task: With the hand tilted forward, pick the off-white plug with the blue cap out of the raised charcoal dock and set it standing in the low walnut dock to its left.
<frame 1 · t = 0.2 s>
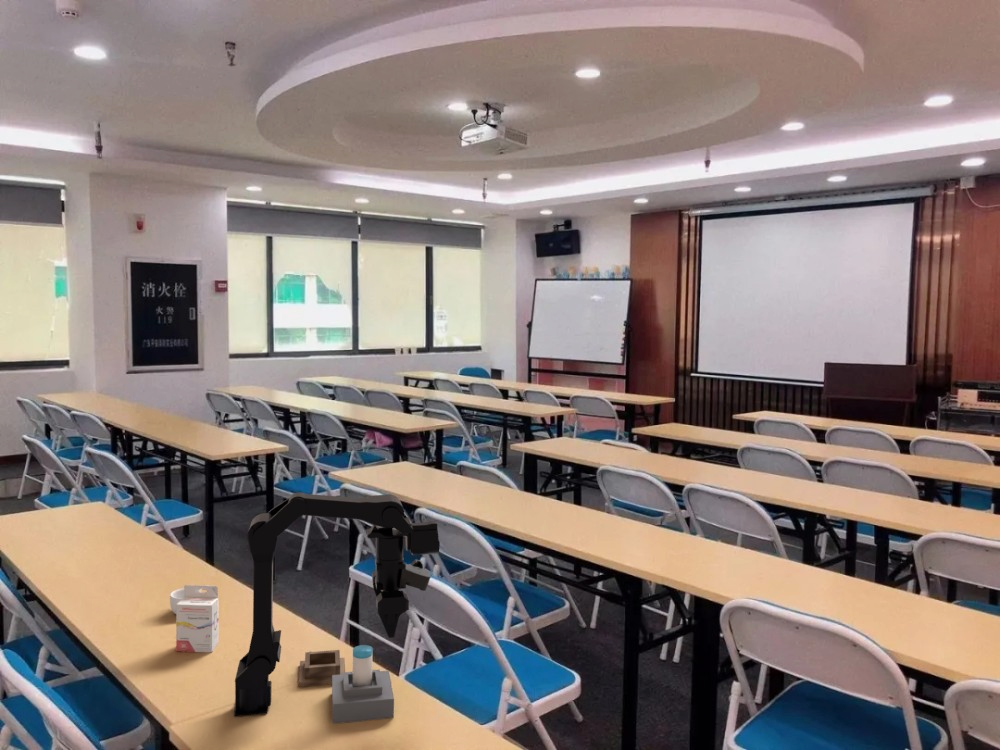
hand: (389, 628, 157), 15 cm above the table, tool pointing down, fingers open, 9 cm apart
upper dock: (361, 705, 154), on the table
teacup: (183, 612, 198), on the table
plug: (362, 686, 154), point 4 cm above the table, touching upper dock
low dock: (322, 673, 167), on the table
ink cartridge box: (197, 648, 178), on the table
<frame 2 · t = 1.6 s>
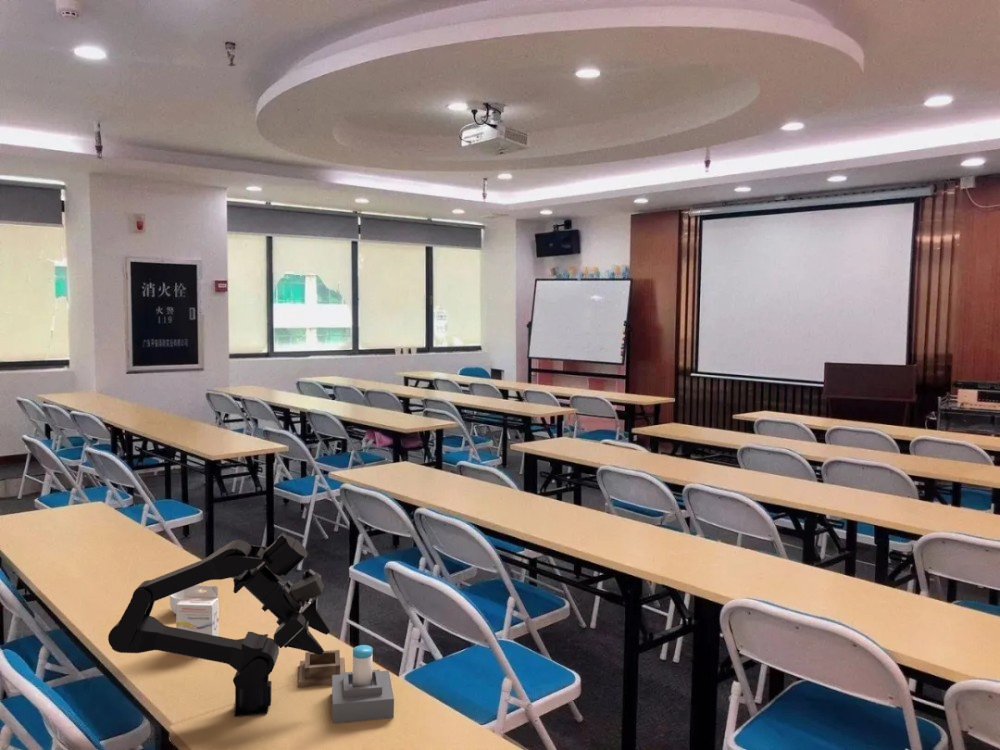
hand: (325, 642, 152), 14 cm above the table, tool tilted 45°, fingers open, 9 cm apart
nothing on the table moved.
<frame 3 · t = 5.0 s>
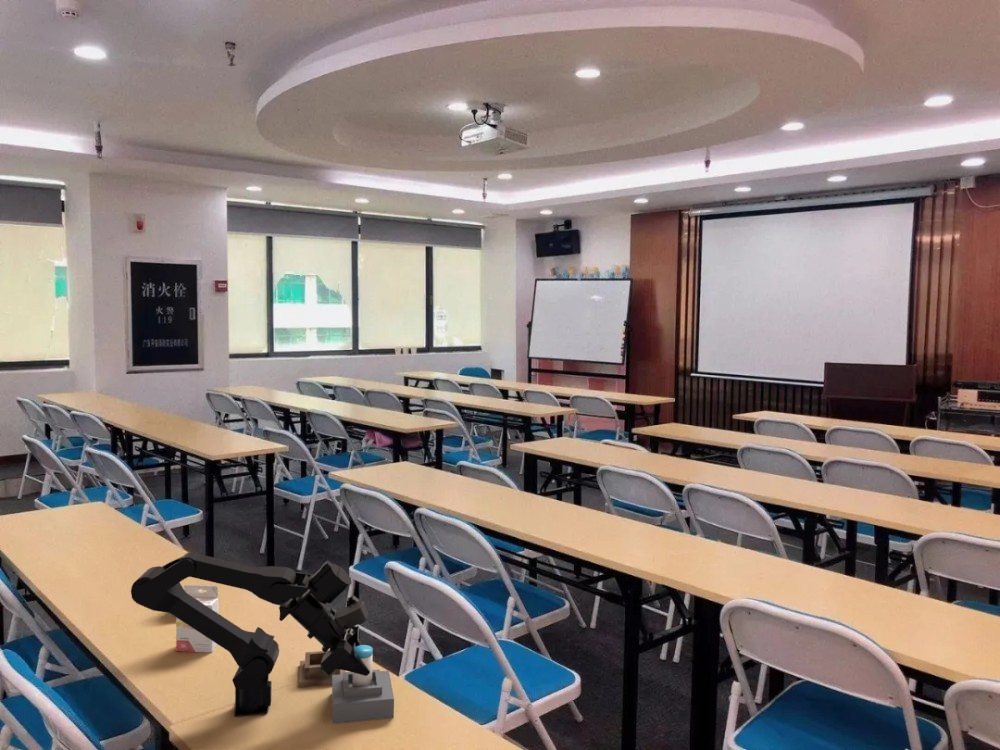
hand: (369, 668, 154), 8 cm above the table, tool tilted 45°, fingers closed on plug, 4 cm apart
plug: (362, 686, 154), point 4 cm above the table, touching gripper, upper dock
everything else where it was.
when the fingers open (7 cm above the table, at t = 10.1 s): plug drops 2 cm, resting on low dock.
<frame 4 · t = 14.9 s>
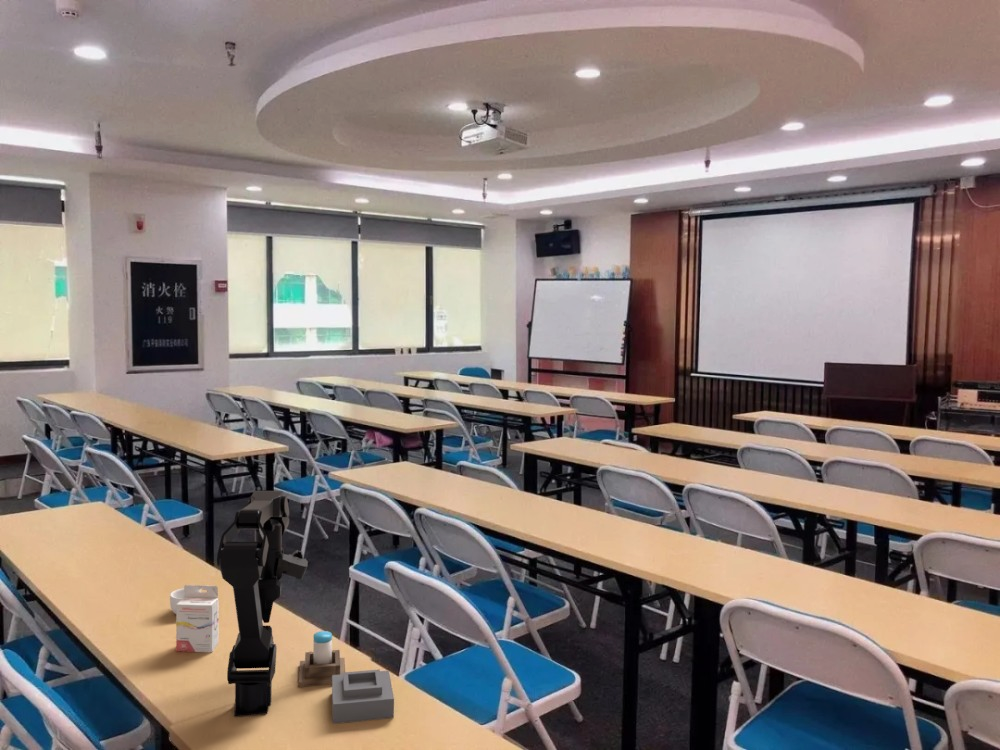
hand: (268, 614, 167), 13 cm above the table, tool pointing down, fingers open, 9 cm apart
plug: (322, 669, 167), point 1 cm above the table, touching low dock
everything else where it was.
at the end: plug 0.0 cm off-centre on the low dock, point 1.0 cm above the low dock's base; plug tilted 0°; the gripper is holding nothing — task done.
